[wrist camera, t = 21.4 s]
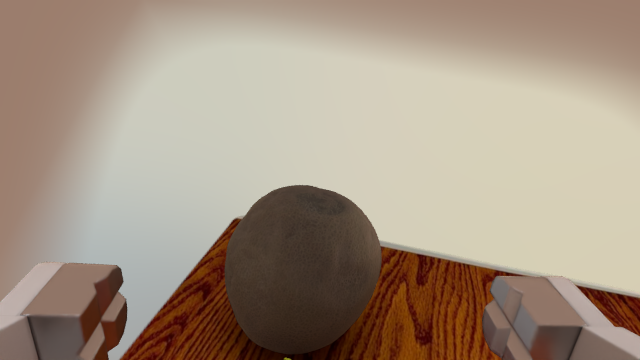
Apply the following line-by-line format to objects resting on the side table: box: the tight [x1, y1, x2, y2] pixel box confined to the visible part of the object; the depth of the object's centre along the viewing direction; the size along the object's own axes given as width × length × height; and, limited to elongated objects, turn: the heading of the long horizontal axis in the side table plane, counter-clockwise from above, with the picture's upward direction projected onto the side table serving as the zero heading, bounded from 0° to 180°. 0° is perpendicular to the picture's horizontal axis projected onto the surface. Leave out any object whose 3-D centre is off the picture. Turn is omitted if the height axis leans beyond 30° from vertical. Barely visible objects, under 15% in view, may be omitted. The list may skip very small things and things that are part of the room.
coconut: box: [225, 185, 381, 354], centre depth 39 cm, size 14×14×15 cm
